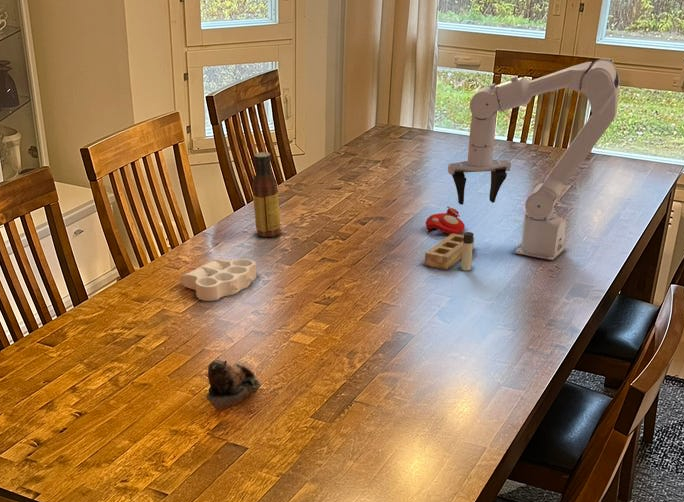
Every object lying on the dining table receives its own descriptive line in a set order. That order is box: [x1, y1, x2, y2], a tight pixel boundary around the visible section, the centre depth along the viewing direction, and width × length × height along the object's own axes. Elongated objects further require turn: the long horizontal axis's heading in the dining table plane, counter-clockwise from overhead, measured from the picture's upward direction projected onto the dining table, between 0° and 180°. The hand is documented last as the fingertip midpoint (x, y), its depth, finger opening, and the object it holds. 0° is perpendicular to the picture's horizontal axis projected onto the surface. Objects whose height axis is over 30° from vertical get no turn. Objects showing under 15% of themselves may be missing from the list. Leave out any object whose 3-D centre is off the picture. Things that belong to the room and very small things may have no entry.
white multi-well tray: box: [179, 258, 257, 302], centre depth 226 cm, size 3×18×15 cm
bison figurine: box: [205, 359, 262, 410], centre depth 180 cm, size 12×7×10 cm, turn 150°
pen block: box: [424, 233, 475, 271], centre depth 237 cm, size 6×15×3 cm, turn 147°
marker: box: [460, 231, 475, 271], centre depth 229 cm, size 2×2×8 cm
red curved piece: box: [425, 206, 466, 235], centre depth 252 cm, size 12×4×10 cm
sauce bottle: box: [252, 151, 282, 238], centre depth 247 cm, size 7×6×20 cm
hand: (476, 202), depth 238 cm, fingers open, 7 cm apart
